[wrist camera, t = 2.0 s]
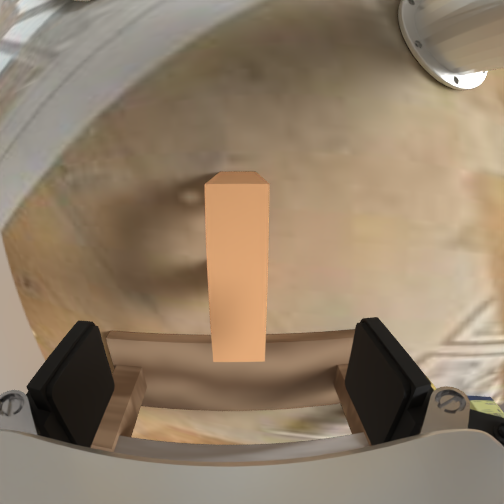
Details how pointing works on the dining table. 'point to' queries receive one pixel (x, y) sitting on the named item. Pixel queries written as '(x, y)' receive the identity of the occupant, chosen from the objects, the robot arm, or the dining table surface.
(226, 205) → the wooden arch block
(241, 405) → the rail stand
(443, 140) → the dining table surface
